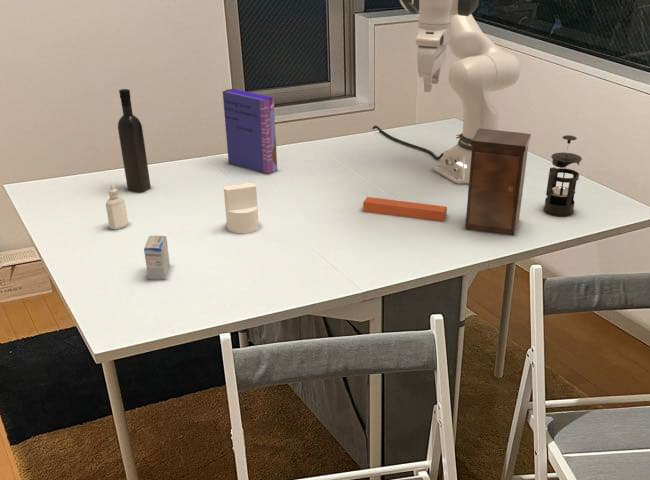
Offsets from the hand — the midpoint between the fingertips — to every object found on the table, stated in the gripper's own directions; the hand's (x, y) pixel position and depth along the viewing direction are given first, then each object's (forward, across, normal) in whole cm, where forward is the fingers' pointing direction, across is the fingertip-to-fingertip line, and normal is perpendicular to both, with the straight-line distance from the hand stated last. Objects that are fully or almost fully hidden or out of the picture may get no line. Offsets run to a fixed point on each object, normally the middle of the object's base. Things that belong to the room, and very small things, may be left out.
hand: (431, 87), depth 228 cm
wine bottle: (+37, +9, -90) cm, 98 cm away
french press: (+37, -17, +39) cm, 56 cm away
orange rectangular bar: (+37, +1, -6) cm, 38 cm away
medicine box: (+37, +61, -56) cm, 91 cm away
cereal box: (+37, -22, -65) cm, 78 cm away
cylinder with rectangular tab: (+37, +26, -48) cm, 66 cm away
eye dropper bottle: (+37, +37, -81) cm, 97 cm away
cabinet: (+37, +1, +21) cm, 43 cm away
